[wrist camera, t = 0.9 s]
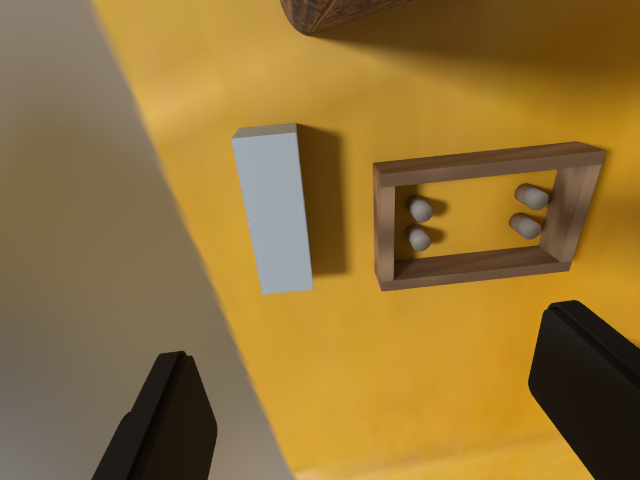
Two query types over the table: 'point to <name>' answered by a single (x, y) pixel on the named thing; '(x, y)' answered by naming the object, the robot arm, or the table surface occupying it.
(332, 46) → the table surface
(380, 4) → the book
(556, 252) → the frame
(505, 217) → the table surface
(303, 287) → the grey rectangular block
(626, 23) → the table surface
